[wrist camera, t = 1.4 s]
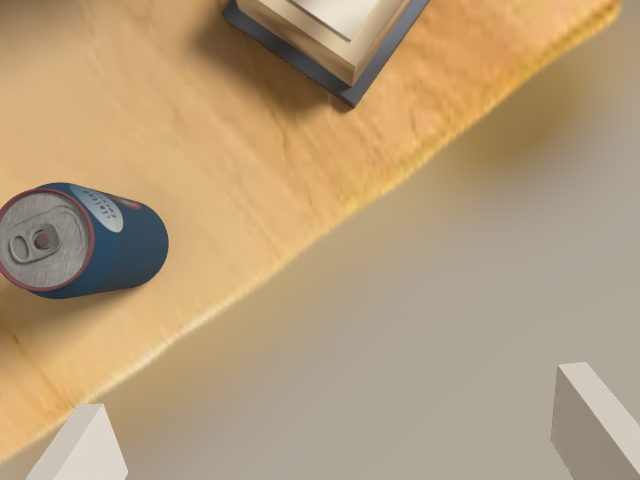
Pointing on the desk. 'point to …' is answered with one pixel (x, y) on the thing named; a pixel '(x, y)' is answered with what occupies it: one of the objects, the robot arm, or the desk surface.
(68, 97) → the desk surface
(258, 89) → the desk surface
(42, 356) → the desk surface
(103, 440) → the robot arm
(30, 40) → the desk surface
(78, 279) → the soda can
